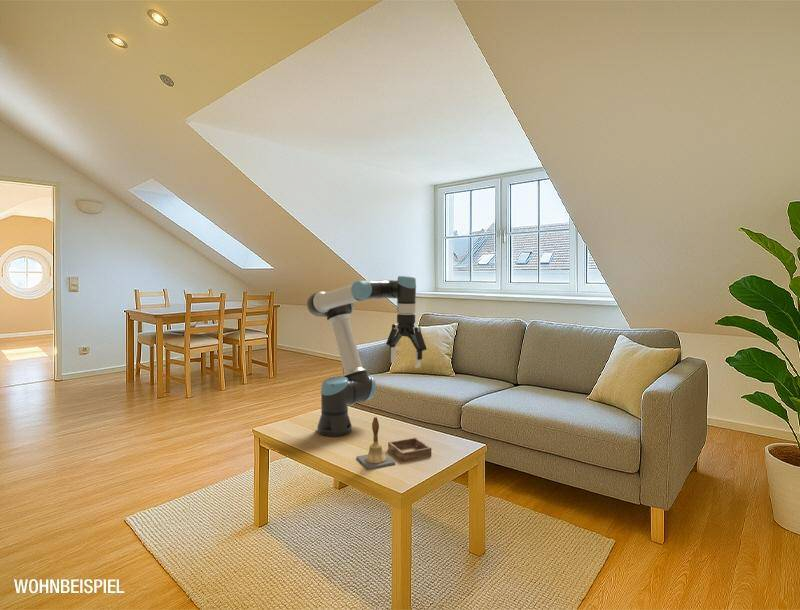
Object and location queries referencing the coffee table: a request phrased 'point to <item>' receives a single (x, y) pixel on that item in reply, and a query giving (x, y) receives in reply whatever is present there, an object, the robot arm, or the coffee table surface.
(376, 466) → the grey rubber pad
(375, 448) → the hand bell
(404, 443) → the brown wooden square frame
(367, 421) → the coffee table surface
